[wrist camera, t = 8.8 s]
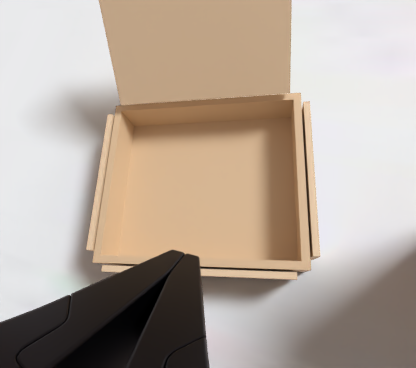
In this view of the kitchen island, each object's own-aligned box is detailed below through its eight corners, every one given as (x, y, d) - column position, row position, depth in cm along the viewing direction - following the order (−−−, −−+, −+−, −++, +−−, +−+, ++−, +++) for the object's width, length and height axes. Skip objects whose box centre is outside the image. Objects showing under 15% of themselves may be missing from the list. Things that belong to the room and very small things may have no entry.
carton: (314, 280, 20) (322, 280, 17) (106, 272, 23) (82, 270, 20) (303, 114, 24) (309, 91, 21) (126, 124, 27) (109, 105, 24)
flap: (289, 93, 21) (293, -121, 16) (120, 105, 23) (82, -79, 18) (289, 91, 21) (292, -115, 17) (124, 103, 23) (87, -75, 19)
